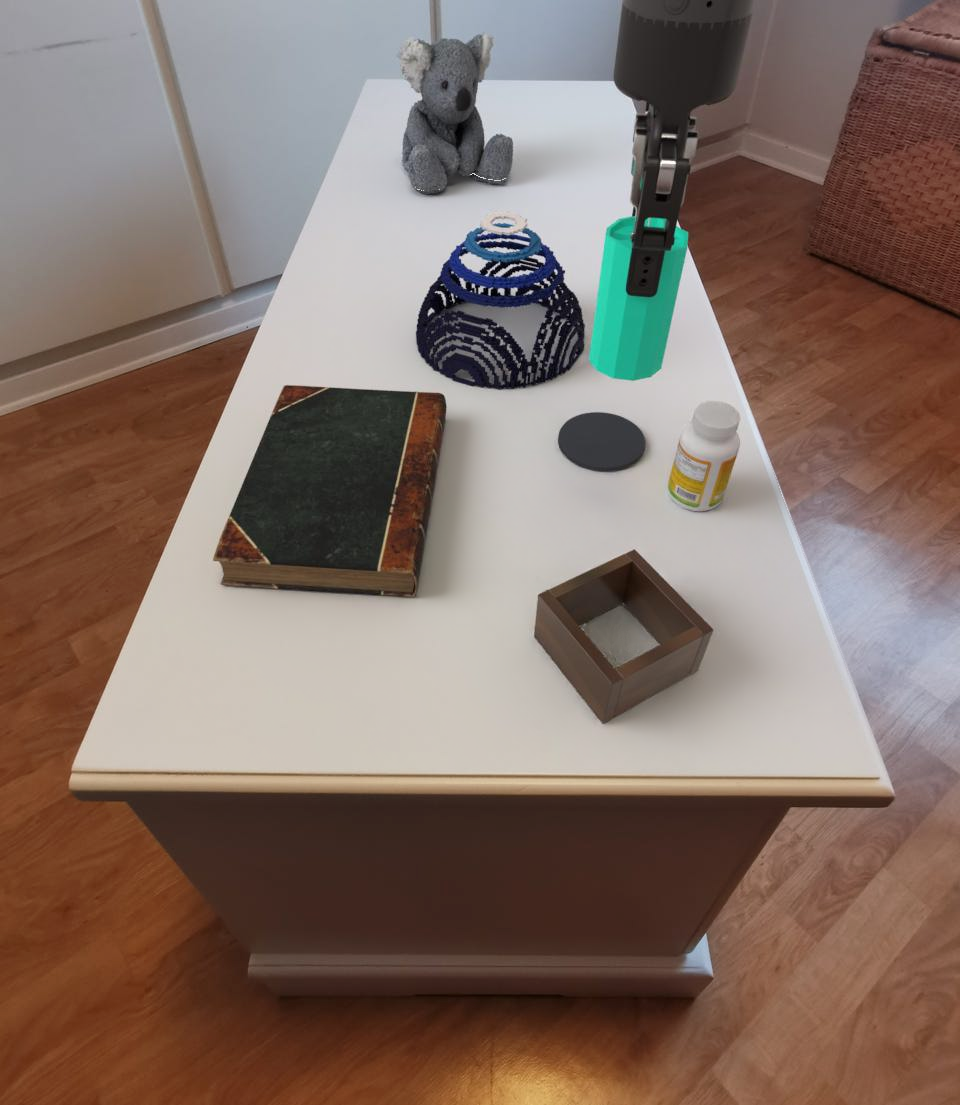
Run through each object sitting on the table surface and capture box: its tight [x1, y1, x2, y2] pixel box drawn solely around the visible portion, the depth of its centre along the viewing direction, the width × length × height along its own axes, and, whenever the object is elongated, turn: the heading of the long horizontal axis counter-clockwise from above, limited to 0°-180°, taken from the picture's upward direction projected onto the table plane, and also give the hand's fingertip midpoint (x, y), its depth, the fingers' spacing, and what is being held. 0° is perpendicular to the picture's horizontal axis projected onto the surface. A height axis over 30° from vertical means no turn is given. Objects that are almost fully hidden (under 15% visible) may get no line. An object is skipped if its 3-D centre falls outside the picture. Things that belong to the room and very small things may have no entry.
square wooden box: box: [533, 548, 714, 725], centre depth 61 cm, size 10×10×6 cm
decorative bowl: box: [415, 211, 586, 391], centre depth 88 cm, size 20×20×14 cm
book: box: [212, 384, 448, 598], centre depth 74 cm, size 17×4×25 cm
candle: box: [588, 215, 689, 382], centre depth 58 cm, size 6×6×12 cm
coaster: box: [557, 411, 646, 473], centre depth 81 cm, size 9×9×1 cm
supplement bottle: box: [667, 400, 741, 512], centre depth 72 cm, size 5×5×10 cm
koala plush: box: [396, 31, 514, 195], centre depth 120 cm, size 17×18×20 cm
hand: (640, 270), depth 57 cm, fingers closed on candle, 6 cm apart
